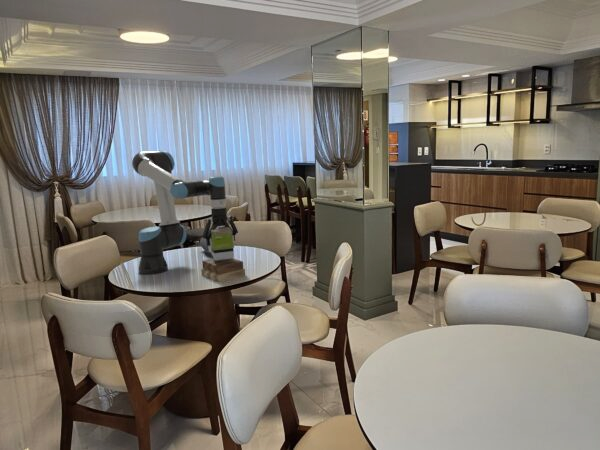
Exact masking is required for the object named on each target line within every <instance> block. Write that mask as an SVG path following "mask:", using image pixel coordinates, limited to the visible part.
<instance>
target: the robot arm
mask: <svg viewBox="0 0 600 450" xmlns="http://www.w3.org/2000/svg"><path fill="white" fill-rule="evenodd" d="M131 165H132V168H133V170H134V171H135V172H136V173H137V174H138V175H139V176H142V177H147V178H148V179H150V180H152V181H153V184H154V189H155V194H156V201H157V206H158V211H159V217H160V223H159V224H158V226H151V227H150V226H149V227H145V228H142V229H141V230H140V231H139V232H138V245H139V253H140V261H139V264H138V273H139V274H142V275H155V274H161V273H163V272H166V271H168V269H169V268H168V263H167V260H166V259H165V256H164V250H167V249H171V248H174V247H175V248H176V247H178V246H181V245H183V244H184V243H185V241H186V240H187V230H186V228H185V226H184V225H182V224H181V221H179V220H178V219H177V214H176V208H175V202H174V199H180V200H181V199H186V198H187V199H188V198H193V197H202V196H209V197H210V207H211V211H210V212H211V218H206V220H205V223H206V224H205V227H204V230H203V234H202V237H201V238H204V239H206V242H207V246H208V249H209V252H213V249H212V239H210V238H211V230H215V229H216V228H217V226H225V227H229V228H230V229H231V230H232V236H233V249H234V248H235V241H236V235H237V234H238V233H239V230H238V228H237V226H236V224H235V222H234V219H233V216H231V215H227V213H228V212H227V211H228V210H227V197H226V183H225V177H223V176H222V175H219V176H210V177H209V179H208V180H203V179H200V180H194V181H184V180H183V179H181V178H179V177H177V176H175V175H174V174H173V173H172V172H173V170H174V169H175V159H174V157H173V156H172V154H171V153H170V152H168V151H165V150H151V151H150V150H149V151H145V150H143V151H139V152H138V153H136V154H135V155H134V156H133V157H132V162H131ZM227 221H228V222H227ZM229 224H230V225H229ZM210 227H211V229H210ZM209 229H210V231H209Z"/></svg>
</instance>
